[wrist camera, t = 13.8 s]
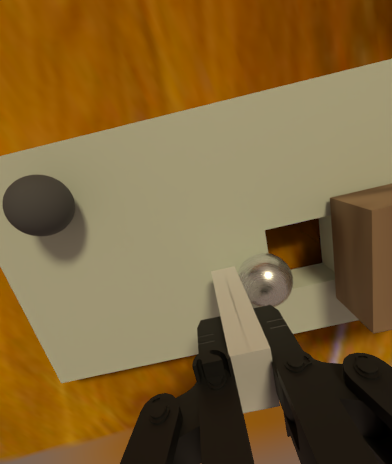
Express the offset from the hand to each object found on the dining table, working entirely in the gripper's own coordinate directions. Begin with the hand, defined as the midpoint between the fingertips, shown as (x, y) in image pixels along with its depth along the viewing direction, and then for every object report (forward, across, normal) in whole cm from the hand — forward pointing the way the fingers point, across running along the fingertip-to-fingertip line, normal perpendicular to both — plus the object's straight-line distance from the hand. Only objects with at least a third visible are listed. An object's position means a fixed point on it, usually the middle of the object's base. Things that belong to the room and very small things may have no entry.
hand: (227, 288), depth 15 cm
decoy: (0, -9, +7) cm, 11 cm away
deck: (+4, 0, +2) cm, 5 cm away
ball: (0, +2, 0) cm, 2 cm away
